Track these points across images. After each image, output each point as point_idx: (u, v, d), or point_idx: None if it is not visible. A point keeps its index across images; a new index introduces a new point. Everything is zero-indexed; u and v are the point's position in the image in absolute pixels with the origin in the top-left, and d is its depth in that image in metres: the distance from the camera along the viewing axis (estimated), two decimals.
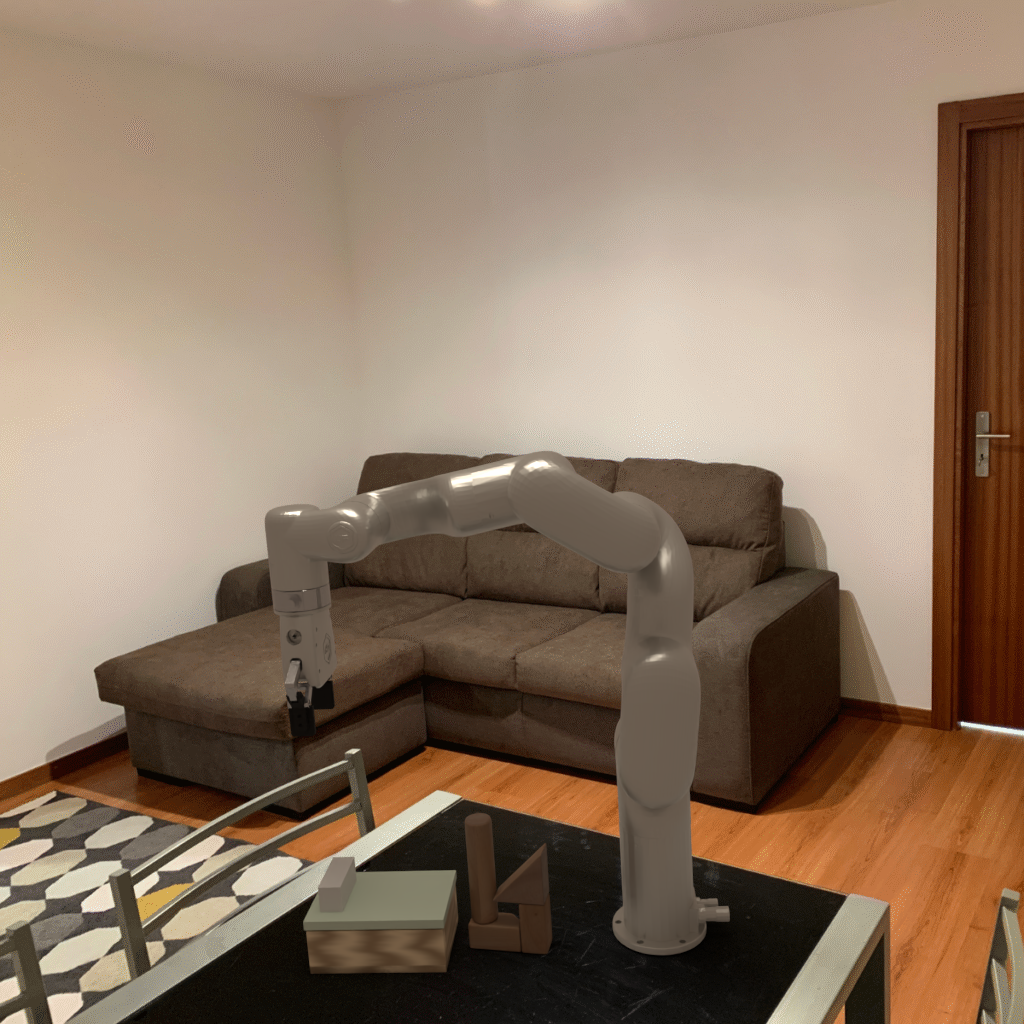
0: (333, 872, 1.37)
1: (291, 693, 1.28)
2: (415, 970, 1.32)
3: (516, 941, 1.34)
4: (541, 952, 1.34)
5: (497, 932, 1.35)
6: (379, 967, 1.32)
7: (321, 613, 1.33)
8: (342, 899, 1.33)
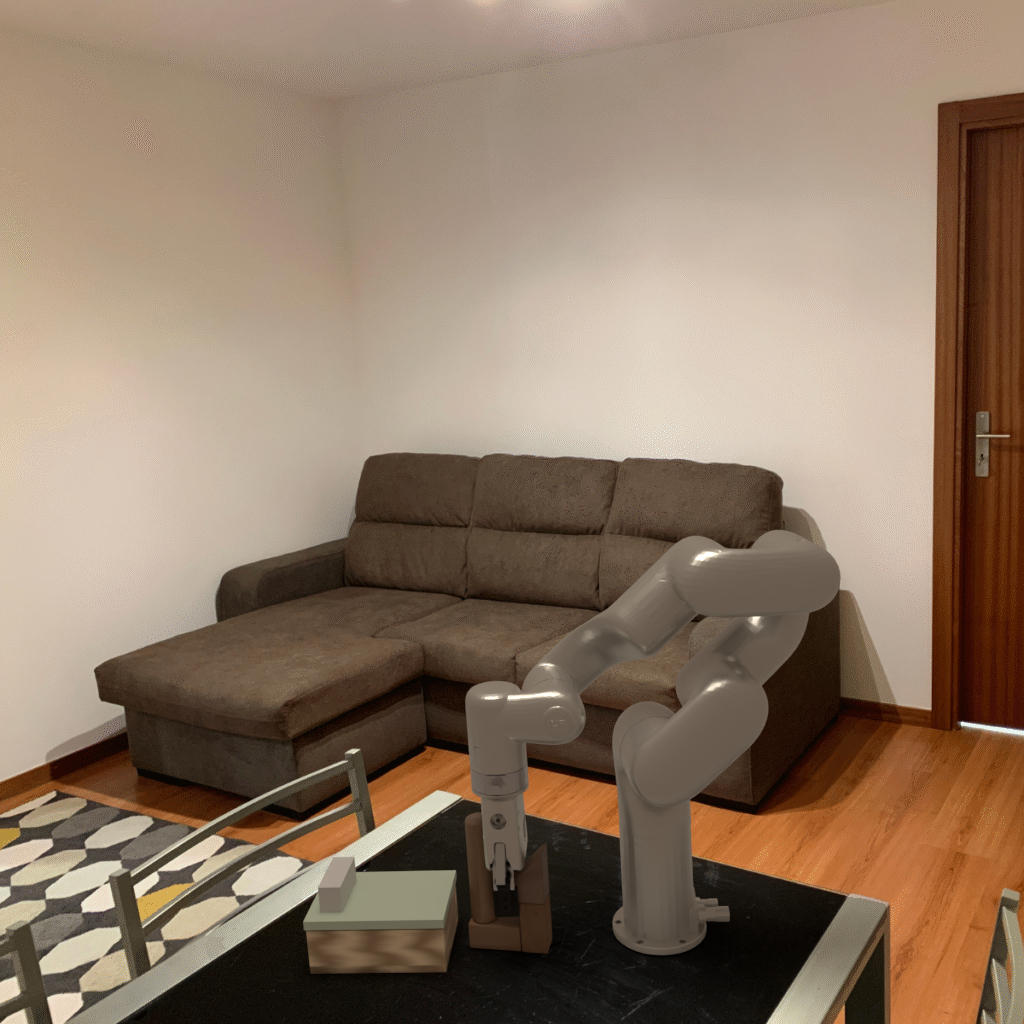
0: (333, 872, 1.37)
1: (501, 885, 1.29)
2: (415, 970, 1.32)
3: (516, 940, 1.34)
4: (541, 951, 1.34)
5: (497, 931, 1.35)
6: (379, 967, 1.32)
7: None
8: (342, 899, 1.33)
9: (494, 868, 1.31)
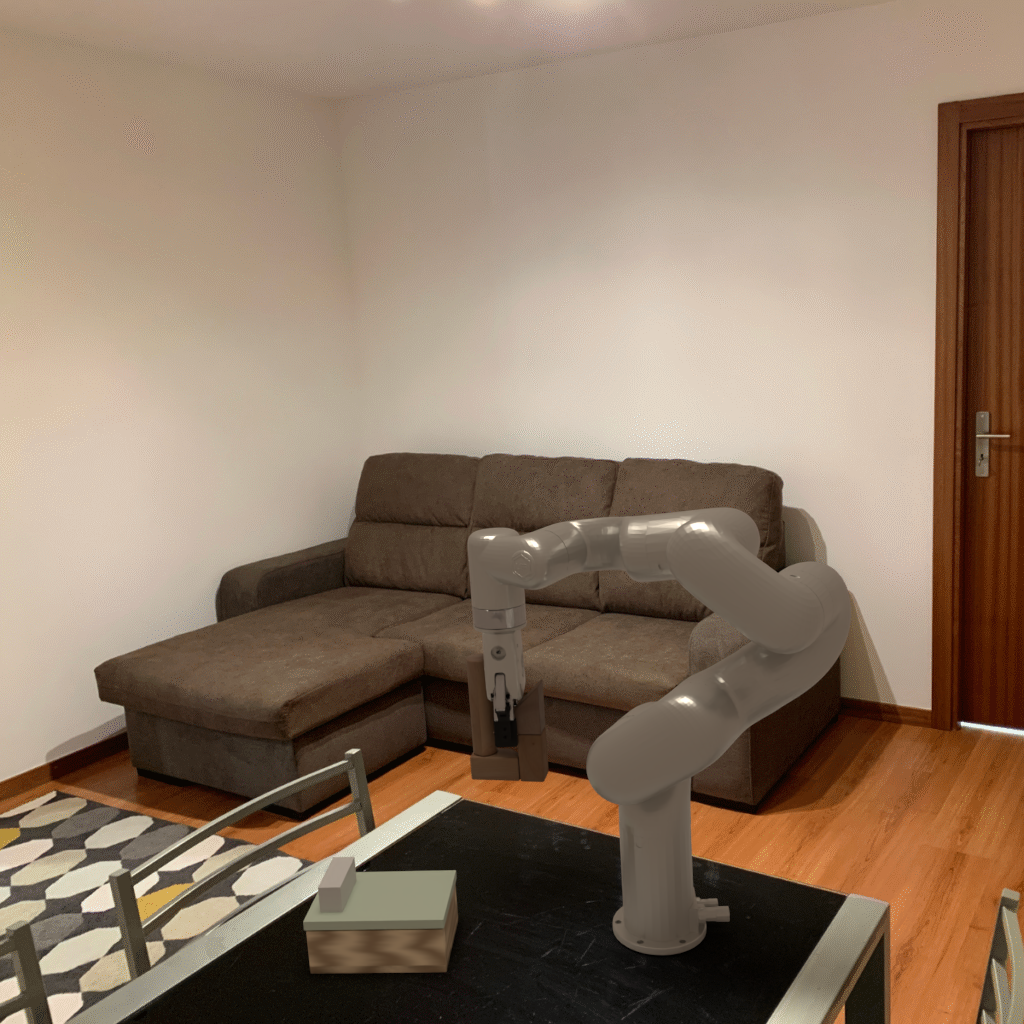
0: (333, 872, 1.37)
1: (501, 712, 1.39)
2: (415, 970, 1.32)
3: (515, 770, 1.44)
4: (538, 780, 1.44)
5: (497, 763, 1.44)
6: (379, 967, 1.32)
7: (518, 630, 1.42)
8: (342, 899, 1.33)
9: (495, 700, 1.41)
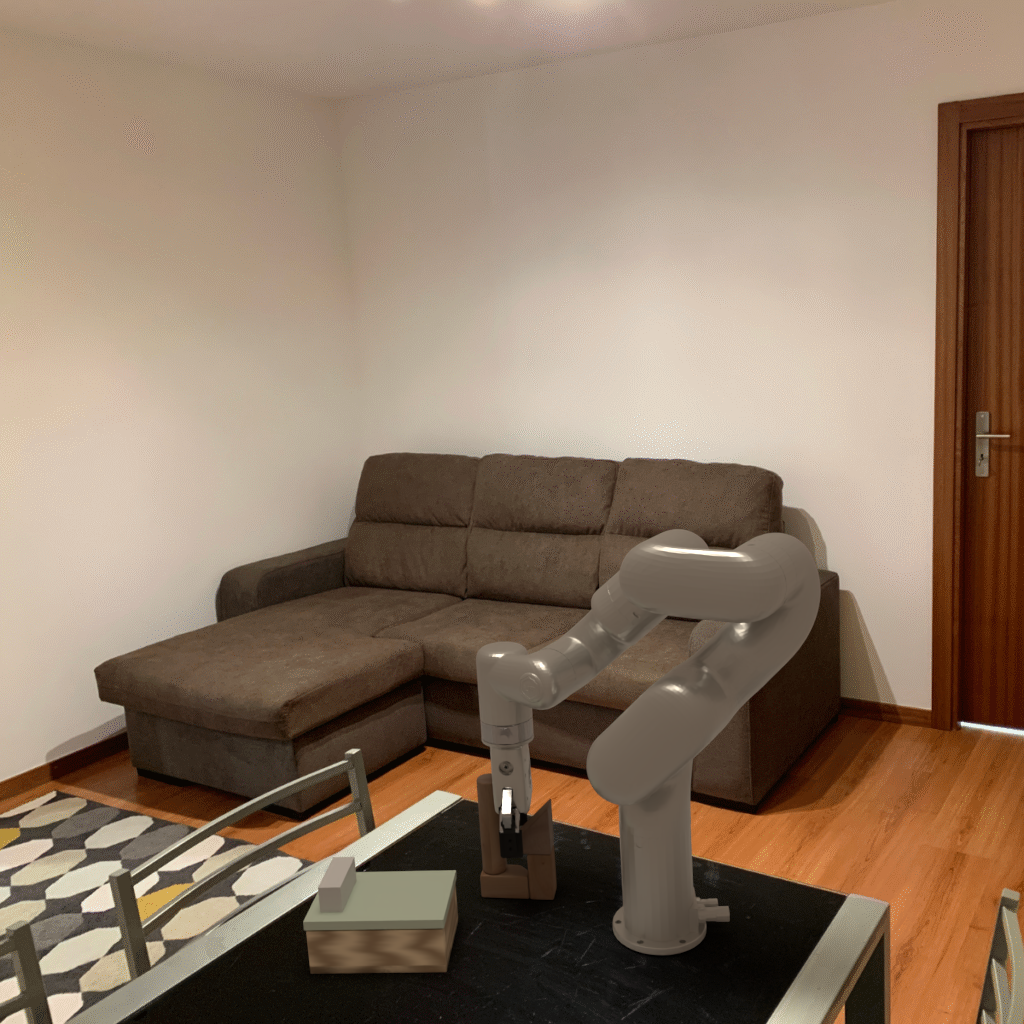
0: (333, 872, 1.37)
1: (507, 822, 1.39)
2: (415, 970, 1.32)
3: (524, 889, 1.47)
4: (548, 898, 1.47)
5: (507, 881, 1.47)
6: (379, 967, 1.32)
7: None
8: (342, 899, 1.33)
9: (501, 810, 1.43)
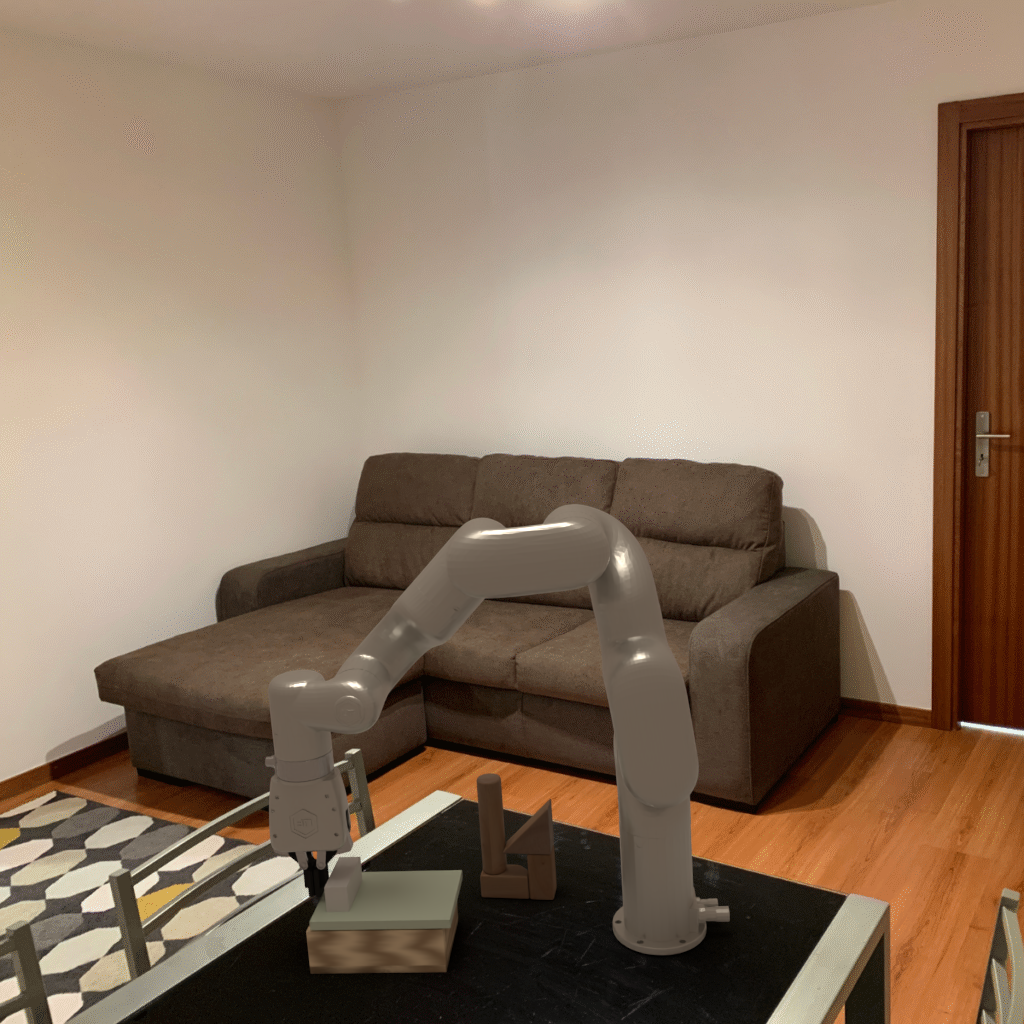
0: (339, 872, 1.37)
1: None
2: (415, 970, 1.32)
3: (524, 889, 1.47)
4: (548, 898, 1.47)
5: (507, 881, 1.47)
6: (379, 967, 1.32)
7: (295, 786, 1.32)
8: (348, 899, 1.33)
9: None
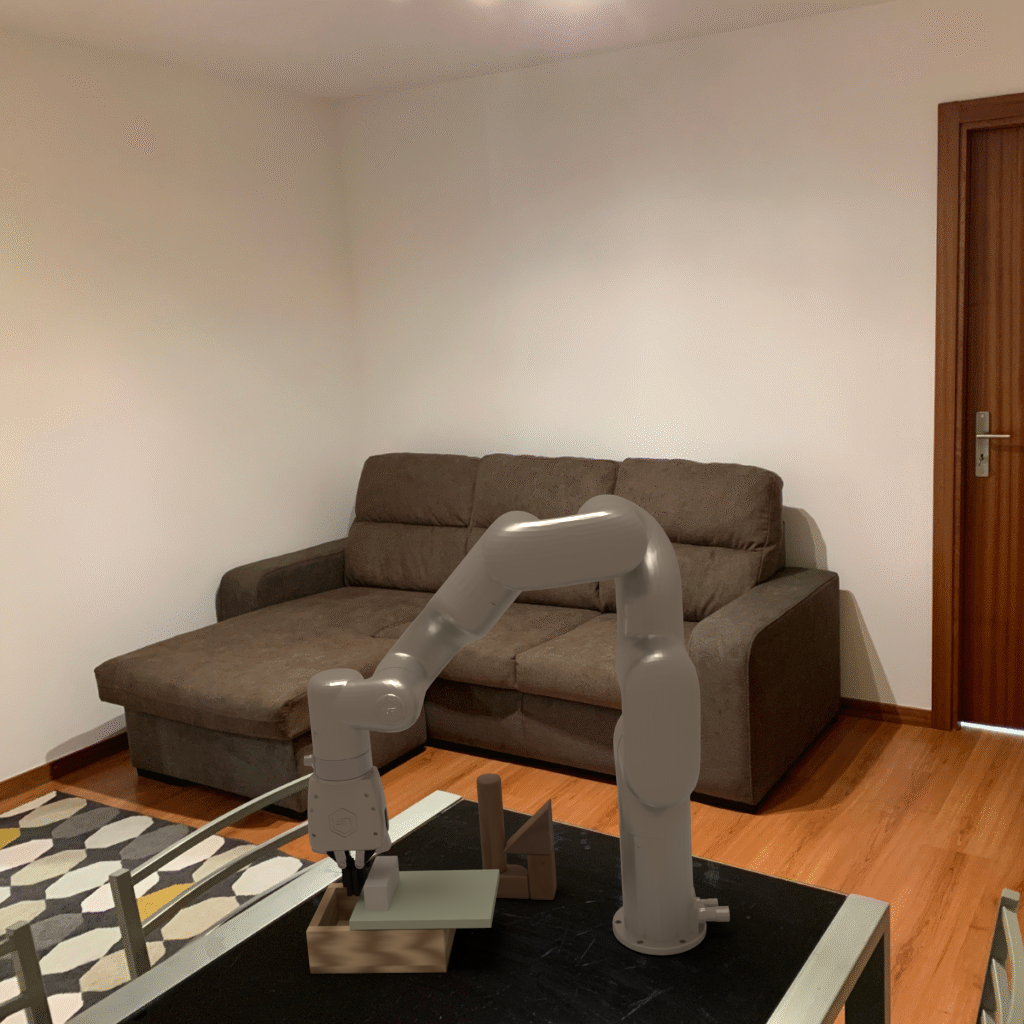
0: (378, 871, 1.36)
1: None
2: (415, 970, 1.32)
3: (524, 889, 1.47)
4: (548, 898, 1.47)
5: (507, 881, 1.47)
6: (379, 967, 1.32)
7: (334, 785, 1.32)
8: (387, 898, 1.33)
9: None
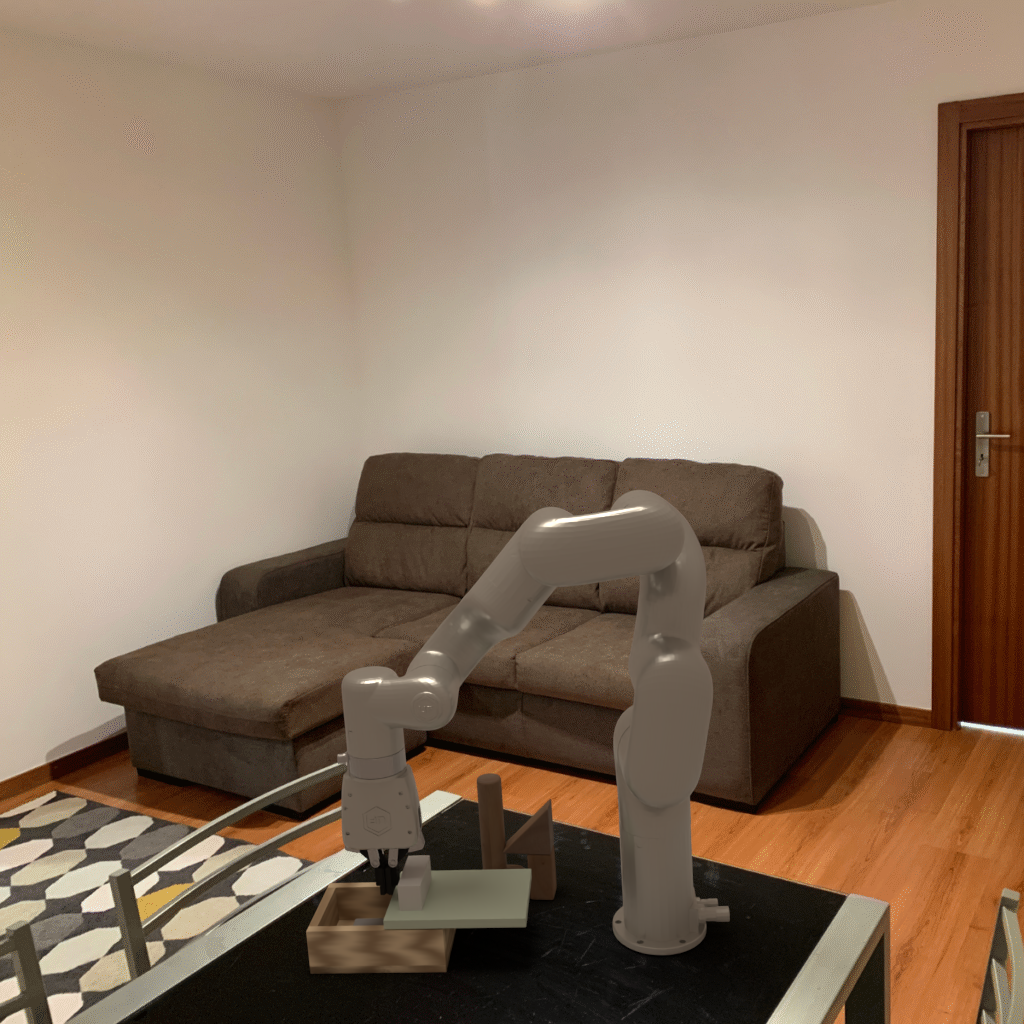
0: (411, 871, 1.36)
1: None
2: (415, 970, 1.32)
3: None
4: (548, 898, 1.47)
5: None
6: (379, 967, 1.32)
7: (368, 784, 1.31)
8: (421, 898, 1.33)
9: None
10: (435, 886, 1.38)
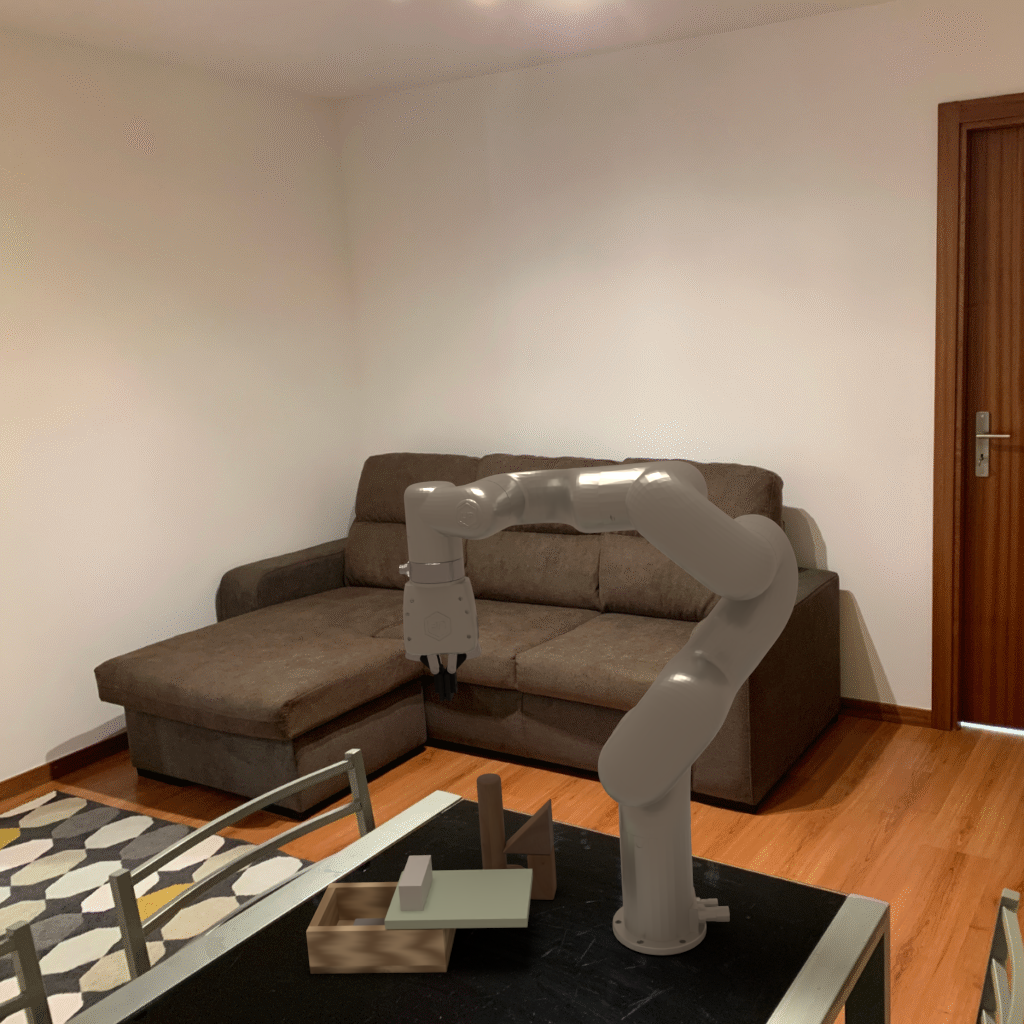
0: (412, 870, 1.36)
1: None
2: (415, 970, 1.32)
3: None
4: (548, 898, 1.47)
5: None
6: (379, 967, 1.32)
7: (430, 589, 1.38)
8: (422, 898, 1.33)
9: None
10: (436, 886, 1.38)
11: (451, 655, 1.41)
